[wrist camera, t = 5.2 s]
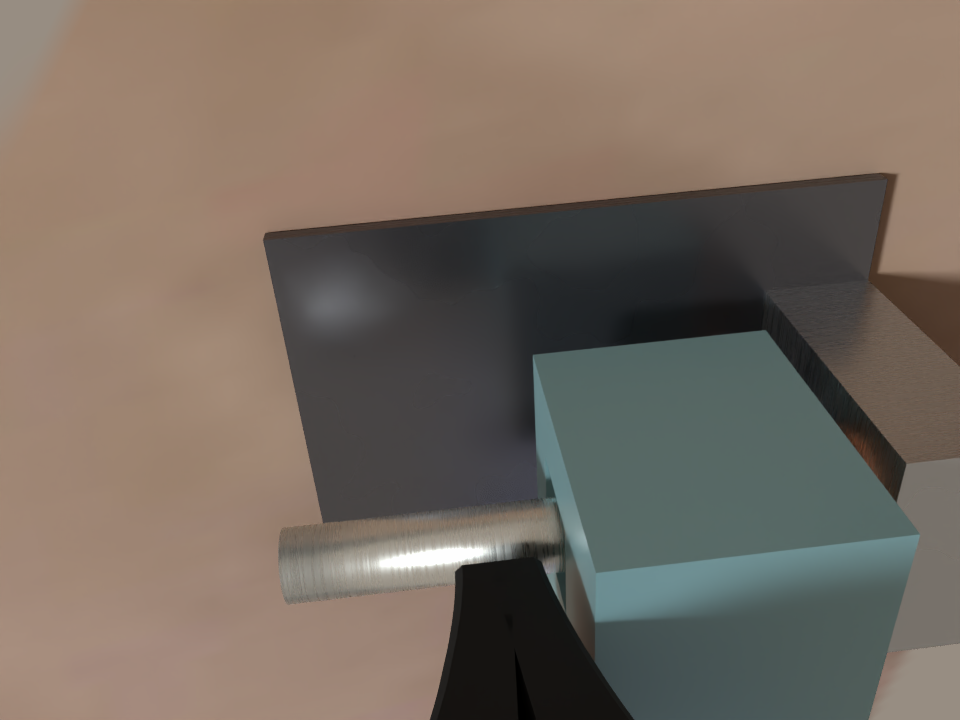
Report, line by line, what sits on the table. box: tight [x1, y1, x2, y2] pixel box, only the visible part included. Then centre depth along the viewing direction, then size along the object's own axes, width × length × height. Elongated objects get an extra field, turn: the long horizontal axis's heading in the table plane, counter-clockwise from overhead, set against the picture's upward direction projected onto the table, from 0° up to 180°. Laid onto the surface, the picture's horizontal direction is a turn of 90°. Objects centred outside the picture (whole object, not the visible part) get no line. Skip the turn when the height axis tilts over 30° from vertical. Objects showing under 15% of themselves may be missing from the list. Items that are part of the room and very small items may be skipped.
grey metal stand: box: [263, 173, 960, 653], centre depth 15 cm, size 8×11×6 cm
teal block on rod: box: [533, 330, 920, 720], centre depth 14 cm, size 4×4×5 cm
